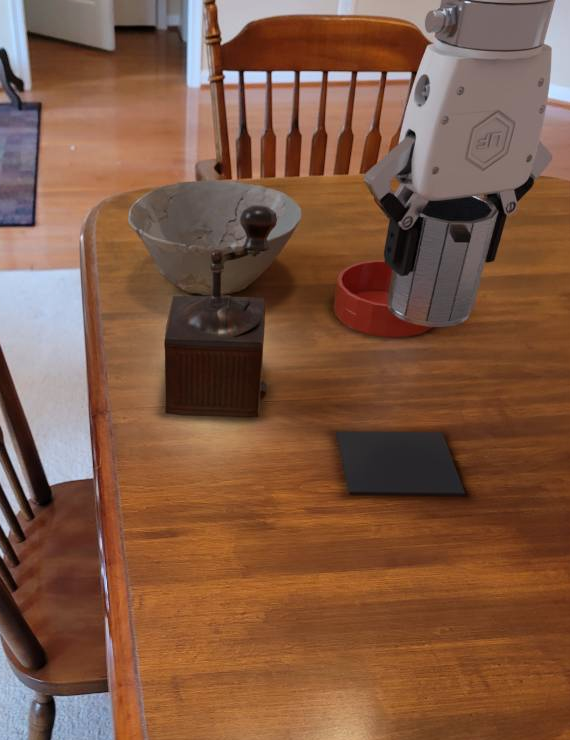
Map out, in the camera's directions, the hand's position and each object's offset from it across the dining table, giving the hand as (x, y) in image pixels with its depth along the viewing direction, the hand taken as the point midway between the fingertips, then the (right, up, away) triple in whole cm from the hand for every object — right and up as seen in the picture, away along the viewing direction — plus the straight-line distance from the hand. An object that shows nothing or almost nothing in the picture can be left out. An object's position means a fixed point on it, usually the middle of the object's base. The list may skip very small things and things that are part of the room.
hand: (439, 261), depth 71 cm
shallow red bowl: (+5, +5, +36) cm, 37 cm away
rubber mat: (0, -17, +13) cm, 21 cm away
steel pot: (0, -3, +3) cm, 4 cm away
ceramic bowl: (-17, +11, +43) cm, 48 cm away
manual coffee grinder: (-17, -6, +25) cm, 31 cm away
